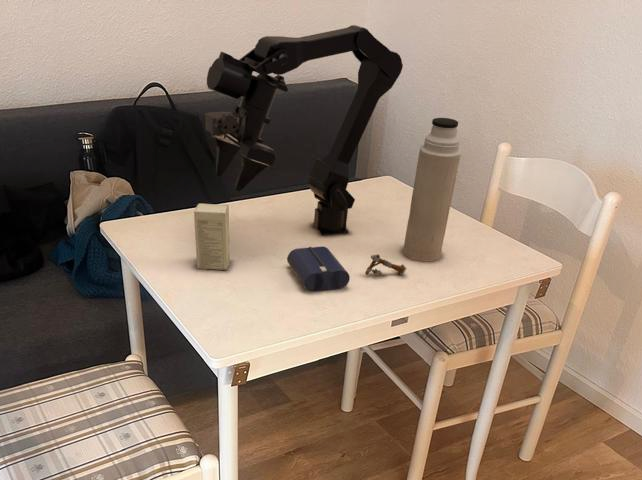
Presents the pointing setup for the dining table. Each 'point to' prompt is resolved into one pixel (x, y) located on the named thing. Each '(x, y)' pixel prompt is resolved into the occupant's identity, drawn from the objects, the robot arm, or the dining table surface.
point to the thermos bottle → (433, 191)
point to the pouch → (318, 269)
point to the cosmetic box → (212, 236)
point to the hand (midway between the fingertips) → (227, 183)
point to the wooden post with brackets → (386, 263)
